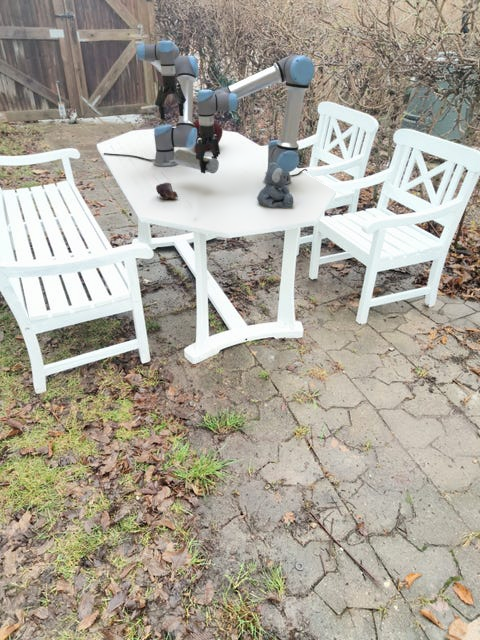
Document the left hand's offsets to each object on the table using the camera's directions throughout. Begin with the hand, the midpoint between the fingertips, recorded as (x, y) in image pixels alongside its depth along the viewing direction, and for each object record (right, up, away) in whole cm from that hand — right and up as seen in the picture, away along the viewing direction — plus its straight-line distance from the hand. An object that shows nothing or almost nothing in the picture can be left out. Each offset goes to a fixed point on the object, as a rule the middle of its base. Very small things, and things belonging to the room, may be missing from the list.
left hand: (172, 117), depth 252 cm
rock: (-1, -49, -12) cm, 50 cm away
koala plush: (+56, -53, -20) cm, 80 cm away
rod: (+14, -32, -9) cm, 36 cm away
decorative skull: (+13, +12, +75) cm, 77 cm away
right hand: (+22, -35, -15) cm, 44 cm away
